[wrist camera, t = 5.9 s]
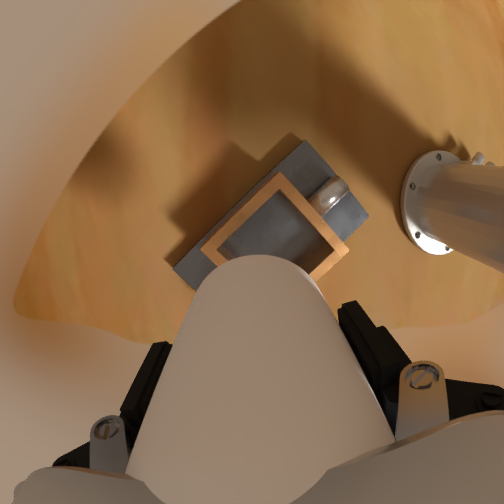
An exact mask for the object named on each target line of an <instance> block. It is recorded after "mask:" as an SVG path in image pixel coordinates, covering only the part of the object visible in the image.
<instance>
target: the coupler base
mask: <svg viewBox="0 0 504 504" xmlns="http://www.w3.org/2000/svg"><path fill="white" fill-rule="evenodd" d="M368 217H369V215H368V213H367V212H366V211H365V210H364V208H363V207H362V206H361V204H360V203H359V202H358V201H357V199H356V198H355V197H354V195H353V194H352V193H351V192H350V190H349V187H348V185H347V184H346V183H345V182H344V181H343V180H342V179H341V178H340V177H339V176H338V175H336V173H335V172H334V171H333V170H332V169H331V168H330V166H329V165H328V164H327V163H326V162H325V161H324V160H323V158H322V157H321V156H320V155H319V154H318V153H317V152H316V151H315V149H314V148H313V147H312V146H311V145H310V144H309V143H308V142H307V141H306V140H304V141H303V142H302V143H300V144H299V145H298V146H297V147H296V148H295V149H294V150H293V151H292V152H290V153H289V154H288V155H287V156H286V157H285V158H284V159H283V160H282V161H281V162H280V163H279V164H277V165H276V166H275V167H274V168H273V169H272V170H271V171H270V172H269V173H268V174H267V175H266V176H265V177H264V178H262V179H261V180H260V181H259V182H258V183H257V184H256V185H255V186H254V187H253V188H252V189H251V190H250V191H249V192H248V193H247V194H246V195H245V196H244V197H243V198H242V199H240V200H239V201H238V202H237V203H236V204H235V205H234V206H233V207H232V208H231V209H230V210H229V211H228V212H227V213H226V214H225V215H224V216H223V217H222V218H221V219H220V220H219V221H218V222H217V223H216V224H215V225H214V226H213V227H212V228H211V229H210V230H209V231H208V232H207V233H206V234H205V235H204V236H203V237H202V238H201V239H200V240H199V241H198V242H197V243H196V244H195V245H194V246H193V247H192V248H191V249H190V250H189V251H188V252H187V253H186V254H185V255H184V257H183V258H182V259H181V260H180V261H179V262H178V263H177V264H176V265H175V266H174V268H173V270H174V271H175V272H176V273H177V274H178V275H179V276H180V277H181V278H182V279H184V280H185V281H186V282H187V283H188V284H189V285H190V286H191V287H192V288H193V289H194V290H196V291H197V290H198V288H199V286H200V285H201V283H202V282H203V280H204V279H205V278H206V277H207V276H208V275H209V274H210V273H211V272H212V271H213V270H214V269H216V268H217V267H219V266H220V265H222V264H223V263H225V262H227V261H230V260H232V259H235V258H238V257H242V256H247V255H271V256H276V257H280V258H283V259H285V260H288V261H290V262H292V263H294V264H296V265H297V266H299V267H300V268H302V269H303V270H304V271H305V272H306V273H307V274H308V275H309V276H310V277H311V278H312V279H313V281H314V282H316V281H317V280H318V279H319V278H320V277H321V276H323V275H324V274H325V273H326V272H327V271H328V270H329V269H330V268H331V267H332V266H333V265H334V264H335V263H337V262H338V261H339V260H340V259H341V258H342V257H343V256H344V255H345V254H346V253H347V252H348V251H349V249H348V248H347V247H346V246H345V244H344V243H343V242H344V241H345V240H346V239H347V238H348V237H349V236H350V235H351V234H352V233H353V232H354V231H355V230H356V229H357V228H358V227H359V226H360V225H361V224H362V223H363V222H364V221H365V220H366V219H367V218H368Z"/></svg>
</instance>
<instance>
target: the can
mask: <svg viewBox="0 0 504 504" xmlns="http://www.w3.org/2000/svg"><path fill="white" fill-rule="evenodd" d="M394 442H395V437H394V435H393V433H392V431H391V428H390V426H389V424H388V422H387V420H386V418H385V415H384V413H383V411H382V409H381V407H380V405H379V403H378V401H377V399H376V396H375V394H374V392H373V390H372V388H371V386H370V384H369V382H368V380H367V378H366V376H365V374H364V372H363V370H362V368H361V366H360V364H359V362H358V360H357V358H356V356H355V354H354V352H353V350H352V349H351V347H350V345H349V343H348V341H347V339H346V337H345V335H344V333H343V331H342V330H341V328H340V326H339V324H338V322H337V320H336V318H335V317H334V315H333V313H332V311H331V309H330V307H329V306H328V304H327V302H326V300H325V298H324V297H323V295H322V293H321V291H320V290H319V288H318V286H317V285H316V283H315V282H314V281H313V279H312V278H311V277H310V276H309V275H308V274H307V273H306V272H305V271H304V270H303V269H302V268H300V267H299V266H297V265H296V264H294V263H292V262H290V261H288V260H285V259H283V258H280V257H276V256H271V255H247V256H242V257H238V258H235V259H232V260H230V261H227V262H225V263H223V264H222V265H220V266H219V267H217V268H216V269H214V270H213V271H212V272H211V273H210V274H209V275H208V276H207V277H206V278H205V279H204V280H203V282H202V283H201V285H200V286H199V288H198V290H197V292H196V294H195V296H194V298H193V300H192V302H191V305H190V307H189V309H188V311H187V314H186V316H185V318H184V320H183V323H182V325H181V327H180V330H179V332H178V334H177V337H176V339H175V342H174V344H173V346H172V349H171V351H170V354H169V356H168V358H167V361H166V363H165V366H164V368H163V371H162V373H161V376H160V378H159V381H158V383H157V386H156V388H155V391H154V393H153V396H152V398H151V401H150V404H149V406H148V409H147V412H146V414H145V417H144V419H143V422H142V425H141V428H140V430H139V433H138V436H137V439H136V441H135V444H134V447H133V450H132V453H131V456H130V459H129V462H128V465H127V468H126V471H125V474H128V475H130V476H132V477H134V478H136V479H138V480H141V481H144V483H145V484H146V486H147V487H148V488H149V490H150V491H151V492H152V493H153V494H154V495H155V496H156V497H158V498H159V499H160V500H161V501H162V502H164V503H165V504H289V503H291V502H293V501H294V500H296V499H297V498H299V497H300V496H301V495H303V494H304V493H305V492H306V491H308V490H309V489H310V488H311V487H312V486H314V485H315V484H316V483H317V482H318V480H319V479H320V478H321V477H322V476H323V475H324V474H325V473H326V471H327V470H328V469H330V468H333V467H336V466H338V465H340V464H343V463H345V462H347V461H349V460H351V459H353V458H355V457H357V456H359V455H361V454H363V453H365V452H367V451H371V450H374V449H377V448H380V447H383V446H386V445H389V444H391V443H394Z"/></svg>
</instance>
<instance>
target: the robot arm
mask: <svg viewBox="0 0 504 504" xmlns="http://www.w3.org/2000/svg"><path fill="white" fill-rule="evenodd" d="M484 160H485V157H484V155H483V154H482V153H480V152H477V153H476V154H475V156H474V157H473V159H472V161H461V160H460V159H459V158H458V157H457V156H456V155H454V154H453V153H450V152H447V151H441V150H436V151H430V152H427V153H424V154H423V155H421V156H420V157H418V158H417V159H416V160H415V161H414V163H413V164H412V165H411V167H410V168H409V170H408V172H407V174H406V177H405V179H404V182H403V186H402V190H401V201H400V204H401V216H402V221H403V224H404V227H405V230H406V232H407V234H408V236H409V238H410V239H411V241H412V242H413V243H414V244H415V245H416V246H417V247H418V248H420V249H421V250H423V251H425V252H427V253H429V254H433V255H444V254H447V253H450V252H451V251H453V250H455V251H457V252H460V253H462V254H464V255H466V256H469V257H471V258H473V259H475V260H477V261H479V262H482V263H484V264H486V265H488V266H490V267H492V268H494V269H496V270H498V271H500V272H502V273H504V167H501V166H495V164H493V163H492V162H487V163H486V164H485V165H482V163H483V162H484ZM338 319H339V326H340V328H341V330H342V331H343V333H344V335H345V337H346V339H347V341H348V343H349V345H350V347H351V349H352V350H353V352H354V354H355V356H356V358H357V360H358V362H359V364H360V366H361V368H362V370H363V372H364V374H365V376H366V378H367V380H368V382H369V384H370V386H371V388H372V390H373V392H374V394H375V396H376V399H377V401H378V403H379V405H380V407H381V409H382V411H383V413H384V415H385V418H386V420H387V422H388V424H389V426H390V428H391V431H392V433H393V435H394V437H395V442H394V443H391V444H389V445H386V446H383V447H380V448H377V449H374V450H371V451H367V452H365V453H363V454H361V455H359V456H357V457H355V458H353V459H351V460H349V461H347V462H345V463H343V464H340V465H338V466H336V467H333V468H330V469H328V470H327V471H326V473H325V474H324V475H323V476H322V477H321V478H320V479H319V480H318V482H317V483H316V484H315V485H314V486H312V487H311V488H310V489H309V490H308V491H306V492H305V493H304V494H303V495H301V496H300V497H299V498H297V499H296V500H294V501H293V502H291V503H289V504H504V389H503V388H501V387H499V386H495V385H488V384H480V383H471V382H464V381H458V380H451V379H445V378H444V377H445V376H444V372H443V370H442V368H441V367H440V366H439V365H438V364H436V363H434V362H431V361H417V362H413V363H412V362H411V360H410V359H409V358H408V356H407V355H406V354H405V352H404V351H403V350H402V348H401V347H400V346H399V344H398V343H397V342H396V341H395V339H394V338H393V337H392V335H391V334H390V333H389V331H388V330H387V329H386V328H385V327H384V326H380V327H377V328H376V326H375V325H374V324H373V322H372V321H371V320H370V318H369V317H368V315H367V314H366V313H365V311H364V310H363V309H362V307H361V306H360V305H359V303H358V302H357V301H356V300H355V301H351V302H347V303H344V304H342V308H339V309H338ZM172 346H173V345H172V344H169V343H168V342H167V341H164V342H157V343H153V344H152V346H151V348H150V350H149V352H148V354H147V356H146V358H145V360H144V362H143V364H142V366H141V367H140V370H139V371H138V373H137V375H136V377H135V379H134V381H133V383H132V385H131V388H130V390H129V392H128V394H127V396H126V398H125V400H124V402H123V404H122V406H121V408H120V411H121V414H120V416H116V415H110V416H106V417H103V418H101V419H99V420H98V421H97V422H96V423H95V424H94V425H93V427H92V428H91V432H90V441H89V442H87V443H85V444H84V445H82V446H80V447H78V448H76V449H74V450H73V451H71V452H69V453H67V454H65V455H63V456H61V457H59V458H58V459H57V460H56V461H55V462H54V463H53V465H52V467H45V468H41V469H38V470H36V471H34V472H33V473H31V474H30V475H29V476H28V478H27V479H26V480H25V481H23V482H21V483H19V484H18V485H17V486H16V488H15V490H14V500H13V503H12V504H165V503H164V502H162V501H161V500H160V499H159V498H158V497H156V496H155V495H154V494H153V493H152V492H151V491H150V490H149V488H148V487H147V486H146V484H145V483H144V481H141V480H138V479H136V478H134V477H132V476H130V475H128V474H125V471H126V468H127V465H128V462H129V459H130V456H131V453H132V450H133V447H134V444H135V441H136V439H137V436H138V433H139V430H140V428H141V425H142V422H143V419H144V417H145V414H146V412H147V409H148V406H149V404H150V401H151V398H152V396H153V393H154V391H155V388H156V386H157V383H158V381H159V378H160V376H161V373H162V371H163V368H164V366H165V363H166V361H167V358H168V356H169V354H170V351H171V349H172Z"/></svg>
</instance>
